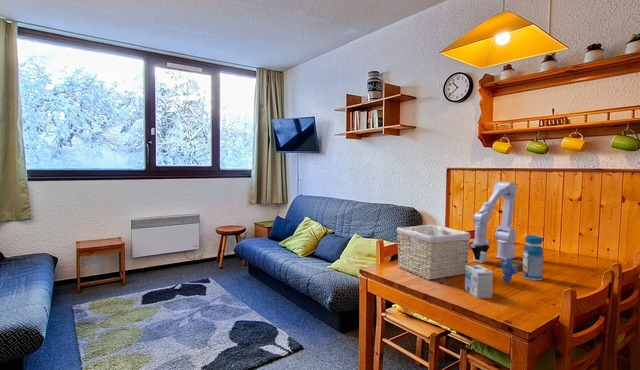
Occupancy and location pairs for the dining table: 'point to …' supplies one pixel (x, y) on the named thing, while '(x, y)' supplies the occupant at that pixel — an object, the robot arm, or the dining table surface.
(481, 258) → the off-white block
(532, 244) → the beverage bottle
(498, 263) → the walnut block
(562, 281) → the dining table surface
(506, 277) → the grapes
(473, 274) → the light bulb box
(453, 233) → the basket
